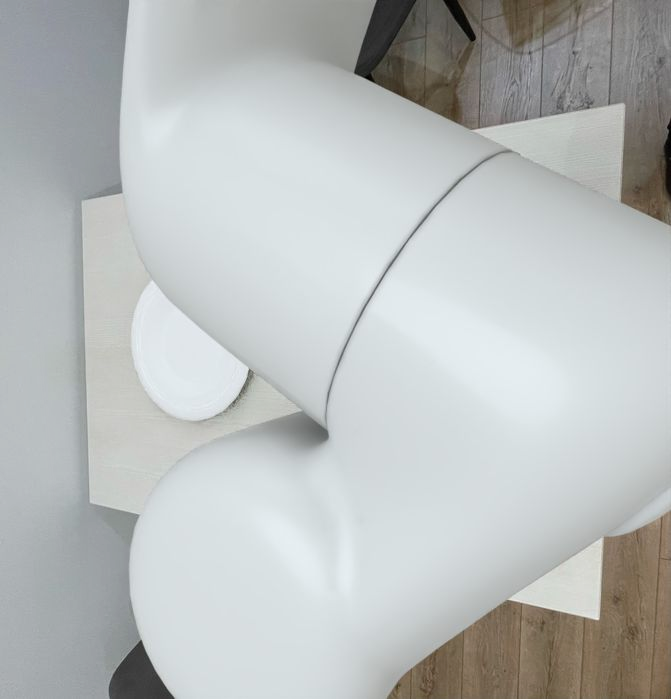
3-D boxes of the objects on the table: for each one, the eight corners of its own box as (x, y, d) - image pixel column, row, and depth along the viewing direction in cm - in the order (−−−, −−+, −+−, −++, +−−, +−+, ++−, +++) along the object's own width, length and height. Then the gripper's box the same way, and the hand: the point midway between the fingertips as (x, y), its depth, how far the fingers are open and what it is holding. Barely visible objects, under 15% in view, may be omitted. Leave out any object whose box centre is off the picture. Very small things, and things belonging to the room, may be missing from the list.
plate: (266, 418, 81) (259, 420, 79) (146, 420, 92) (137, 422, 91) (250, 251, 81) (243, 250, 79) (131, 275, 92) (122, 274, 90)
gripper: (539, 272, 20) (572, 289, 35) (234, 483, 27) (371, 421, 42) (670, 450, 18) (645, 387, 33) (310, 624, 25) (424, 507, 41)
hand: (493, 406), depth 38 cm, fingers open, 9 cm apart
